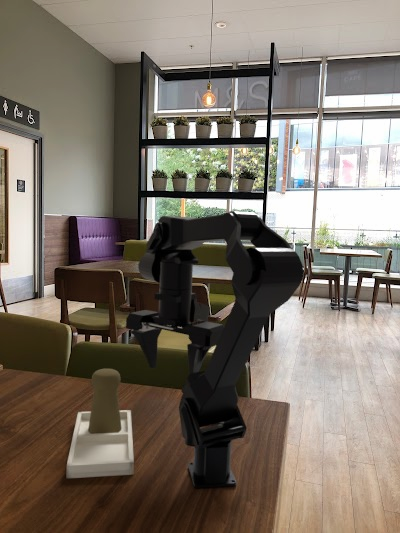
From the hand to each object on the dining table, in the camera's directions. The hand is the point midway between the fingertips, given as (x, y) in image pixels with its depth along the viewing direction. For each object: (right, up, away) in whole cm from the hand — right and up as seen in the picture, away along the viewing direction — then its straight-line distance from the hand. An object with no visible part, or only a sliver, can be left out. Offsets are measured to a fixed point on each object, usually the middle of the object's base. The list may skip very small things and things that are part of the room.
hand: (172, 373), depth 80 cm
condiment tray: (-12, -12, -3) cm, 17 cm away
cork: (-13, -11, +2) cm, 17 cm away
